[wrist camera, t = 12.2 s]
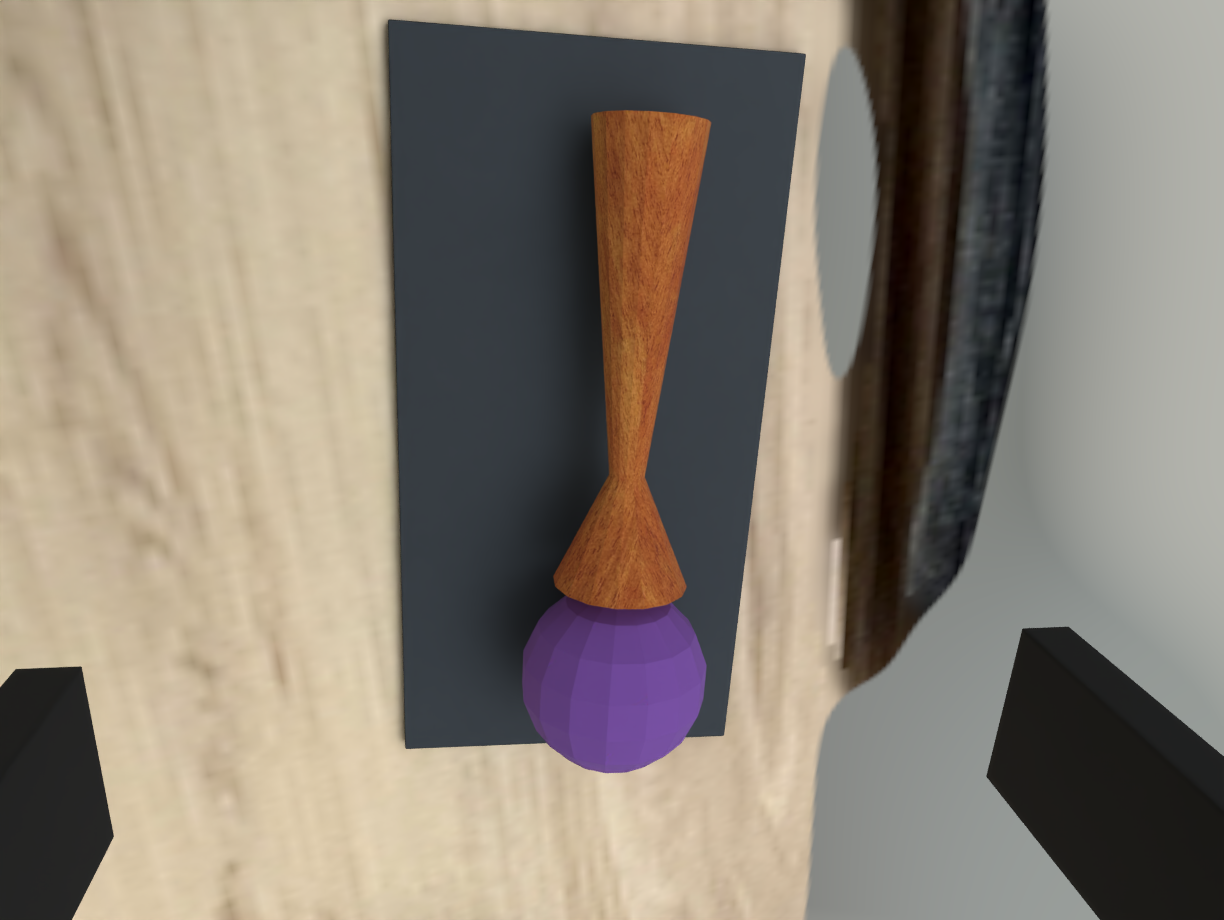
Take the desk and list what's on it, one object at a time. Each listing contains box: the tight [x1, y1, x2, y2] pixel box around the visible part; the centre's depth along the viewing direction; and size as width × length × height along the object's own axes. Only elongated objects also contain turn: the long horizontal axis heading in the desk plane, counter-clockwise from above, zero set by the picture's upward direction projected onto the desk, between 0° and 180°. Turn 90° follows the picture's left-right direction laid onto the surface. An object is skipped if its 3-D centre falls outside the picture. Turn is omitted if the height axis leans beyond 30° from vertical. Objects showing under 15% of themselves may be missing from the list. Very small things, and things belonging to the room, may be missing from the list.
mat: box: [388, 20, 806, 749], centre depth 29 cm, size 24×12×1 cm, turn 177°
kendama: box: [522, 110, 711, 773], centre depth 27 cm, size 6×6×20 cm
